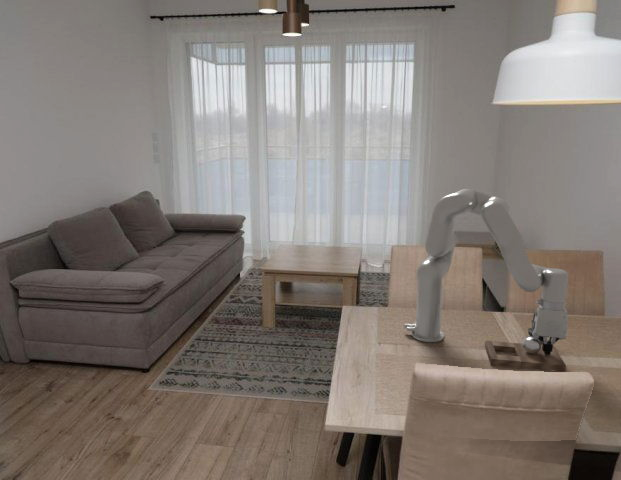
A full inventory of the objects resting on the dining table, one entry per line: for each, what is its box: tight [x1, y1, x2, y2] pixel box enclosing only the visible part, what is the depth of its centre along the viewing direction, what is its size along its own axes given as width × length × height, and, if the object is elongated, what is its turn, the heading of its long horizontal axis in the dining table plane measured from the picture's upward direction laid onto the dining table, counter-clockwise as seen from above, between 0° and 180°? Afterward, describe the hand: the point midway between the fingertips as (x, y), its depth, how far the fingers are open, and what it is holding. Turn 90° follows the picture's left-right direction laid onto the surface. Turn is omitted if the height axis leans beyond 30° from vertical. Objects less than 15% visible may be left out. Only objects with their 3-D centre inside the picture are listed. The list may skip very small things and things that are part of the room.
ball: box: [522, 336, 542, 354], centre depth 174 cm, size 6×6×6 cm
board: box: [484, 340, 567, 372], centre depth 175 cm, size 24×15×2 cm, turn 78°
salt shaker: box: [527, 312, 543, 343], centre depth 190 cm, size 6×6×12 cm
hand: (546, 352), depth 173 cm, fingers closed
